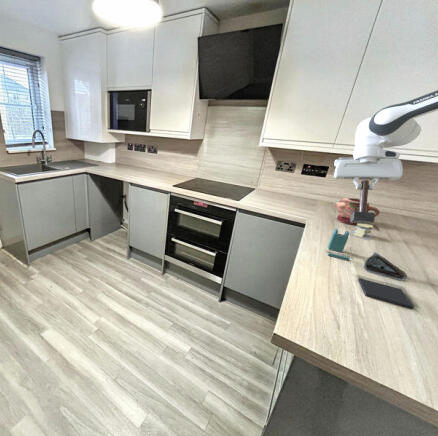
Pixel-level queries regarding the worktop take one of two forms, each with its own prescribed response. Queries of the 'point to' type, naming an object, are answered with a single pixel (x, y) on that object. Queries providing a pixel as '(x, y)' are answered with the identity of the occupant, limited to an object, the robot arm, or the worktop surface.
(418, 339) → the worktop surface
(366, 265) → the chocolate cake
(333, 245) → the rest
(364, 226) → the stacked layers on plate
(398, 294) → the mat
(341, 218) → the pink floral mug
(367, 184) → the mallet
